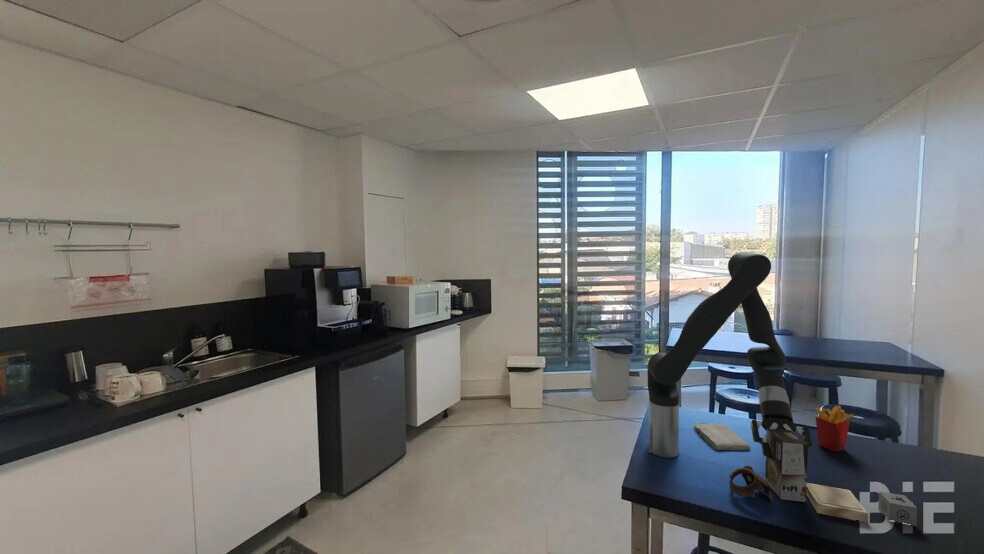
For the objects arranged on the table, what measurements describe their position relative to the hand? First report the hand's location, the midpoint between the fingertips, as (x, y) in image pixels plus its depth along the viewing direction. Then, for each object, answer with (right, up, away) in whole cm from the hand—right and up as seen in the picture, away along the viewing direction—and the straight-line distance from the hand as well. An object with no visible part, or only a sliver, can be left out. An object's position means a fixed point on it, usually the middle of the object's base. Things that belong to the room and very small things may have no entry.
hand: (785, 460), depth 109 cm
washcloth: (0, -8, +32) cm, 33 cm away
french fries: (+35, -7, +23) cm, 42 cm away
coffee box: (0, -9, +1) cm, 9 cm away
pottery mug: (-10, -9, 0) cm, 14 cm away
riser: (+8, -9, -6) cm, 14 cm away
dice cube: (+20, -10, -11) cm, 25 cm away
